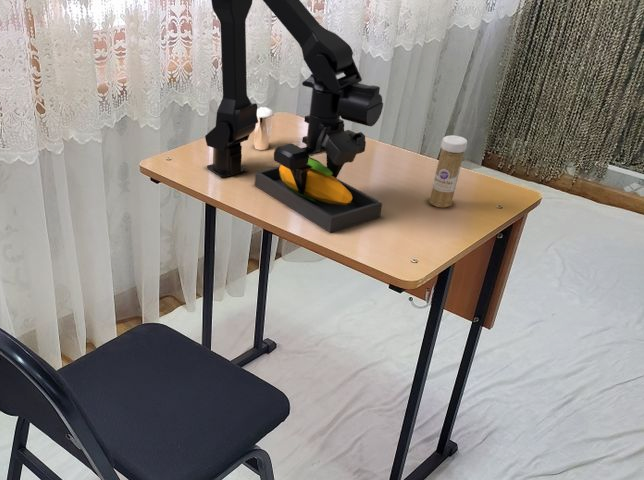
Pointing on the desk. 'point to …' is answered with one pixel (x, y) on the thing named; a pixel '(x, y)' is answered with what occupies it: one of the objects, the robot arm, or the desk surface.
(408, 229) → the desk surface
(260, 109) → the milkshake
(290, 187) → the corn
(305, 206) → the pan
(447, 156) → the sprinkles bottle
